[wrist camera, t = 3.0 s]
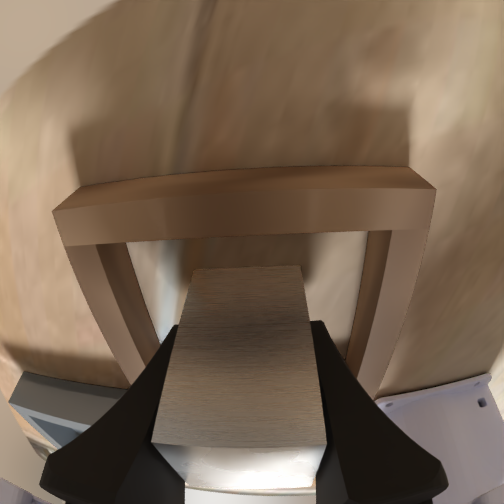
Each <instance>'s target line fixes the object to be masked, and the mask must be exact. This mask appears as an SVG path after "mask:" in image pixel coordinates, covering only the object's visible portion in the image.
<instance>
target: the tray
mask: <svg viewBox="0 0 504 504" xmlns="http://www.w3.org/2000/svg"><path fill="white" fill-rule="evenodd" d="M126 391H127V389H118V388H111V387H103V386H96V385H90V384H84V383H78V382H72V381H66V380H61V379H56V378H51V377H46V376H41V375H37V374H32V373H28V372H23V374H22V376H21V378H20V379H19V381H18V383H17V385H16V387H15V389H14V391H13V394H12V396H11V398H10V400H9V404H10V405H11V406H12V407H13V408H14V409H15V410H16V411H17V412H18V413H19V414H20V415H21V416H22V417H23V418H24V419H25V420H26V421H27V422H28V423H29V424H30V425H31V426H33V427H34V428H35V429H36V430H37V431H38V432H39V433H40V434H41V435H42V436H43V437H45V438H46V439H47V440H48V441H49V442H50V443H51V444H53V445H54V446H55V447H56V448H57V449H60V448H61V447H63V446H65V445H66V444H68V443H69V442H71V441H72V440H74V439H75V438H76V437H78V436H79V435H80V434H81V433H83V432H84V431H85V430H87V429H88V428H89V427H90V426H92V425H93V424H94V423H95V422H96V421H97V420H99V419H100V418H101V417H102V416H103V415H104V414H105V413H106V412H107V411H108V410H109V409H110V408H111V407H112V406H113V405H114V404H115V403H116V402H117V401H118V400H119V399H120V398H121V397H122V396H123V394H124V393H125V392H126Z"/></svg>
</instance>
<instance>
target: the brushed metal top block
mask: <svg viewBox="0 0 504 504" xmlns="http://www.w3.org/2000/svg"><path fill="white" fill-rule="evenodd" d="M151 443H152V444H153V445H154V446H155V447H156V449H157V450H158V451H159V452H160V453H161V455H162V456H163V457H164V458H165V459H166V460H167V462H168V463H169V464H170V465H171V466H172V467H173V468H174V470H175V471H176V472H177V473H178V474H179V475H180V476H181V477H182V478H183V479H184V480H185V482H186V483H187V484H188V485H189V486H197V487H210V488H228V489H279V488H298V487H310V486H311V485H312V483H313V480H314V478H315V475H316V472H317V470H318V467H319V465H320V462H321V459H322V457H323V454H324V451H325V448H326V445H327V441H326V432H325V424H324V416H323V408H322V401H321V393H320V386H319V379H318V372H317V365H316V358H315V351H314V345H313V338H312V332H311V326H310V320H309V313H308V307H307V301H306V296H305V290H304V284H303V278H302V273H301V267H300V265H288V266H266V267H243V268H218V269H194V271H193V275H192V278H191V282H190V285H189V289H188V293H187V296H186V300H185V304H184V307H183V311H182V315H181V319H180V322H179V326H178V330H177V334H176V338H175V342H174V346H173V349H172V353H171V357H170V361H169V366H168V370H167V374H166V378H165V382H164V386H163V391H162V395H161V399H160V404H159V408H158V413H157V417H156V422H155V426H154V431H153V435H152V440H151Z"/></svg>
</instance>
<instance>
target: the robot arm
mask: <svg viewBox="0 0 504 504" xmlns="http://www.w3.org/2000/svg"><path fill="white" fill-rule="evenodd" d="M178 326H179V325H174V326H173V327H172V329H171V330H170V332H169V333H168V335H167V336H166V338H165V340H164V341H163V343H162V344H161V346H160V347H159V349H158V350H157V352H156V353H155V354H154V356H153V357H152V359H151V360H150V361H149V363H148V364H147V366H146V367H145V368H144V370H143V371H142V372H141V374H140V375H139V376H138V378H137V379H136V380H135V381H134V383H133V384H132V385H131V386H130V388H129V389H128V390H127V391H126V392H125V393H124V394H123V396H122V397H121V398H120V399H119V400H118V401H117V402H116V403H115V404H114V405H113V406H112V407H111V408H110V409H109V410H108V411H107V412H106V413H105V414H104V415H103V416H102V417H101V418H100V419H99V420H97V421H96V422H95V423H94V424H93V425H92V426H90V427H89V428H88V429H87V430H85V431H84V432H83V433H81V434H80V435H79V436H78V437H76V438H75V439H74V440H72V441H71V442H69V443H68V444H66V445H65V446H63V447H61V448H60V449H58V450H57V451H55V452H54V453H52V454H50V455H49V456H48V458H47V461H46V463H45V467H44V470H43V473H42V477H41V480H40V483H39V485H40V487H41V488H43V489H44V490H46V491H47V492H49V493H51V494H52V495H54V496H56V497H58V498H60V499H62V500H63V501H65V504H185V480H184V479H183V478H182V477H181V476H180V475H179V474H178V473H177V472H176V471H175V470H174V468H173V467H172V466H171V465H170V464H169V463H168V462H167V460H166V459H165V458H164V457H163V456H162V455H161V453H160V452H159V451H158V450H157V449H156V447H155V446H154V445H153V444H152V443H151V440H152V435H153V431H154V426H155V422H156V417H157V413H158V408H159V404H160V399H161V395H162V391H163V386H164V382H165V378H166V374H167V370H168V366H169V361H170V357H171V353H172V349H173V346H174V342H175V338H176V334H177V330H178ZM310 326H311V332H312V338H313V345H314V351H315V358H316V365H317V372H318V379H319V386H320V393H321V401H322V408H323V416H324V424H325V432H326V441H327V445H326V448H325V451H324V454H323V457H322V459H321V462H320V465H319V467H318V470H317V472H316V504H504V422H503V419H502V417H501V414H500V412H499V409H498V407H497V405H496V402H495V400H494V398H493V395H492V393H491V391H490V389H489V387H488V385H487V384H488V383H489V382H490V380H491V378H492V376H491V374H490V373H486V374H483V375H480V376H476V377H473V378H469V379H466V380H462V381H458V382H454V383H450V384H446V385H442V386H438V387H434V388H429V389H425V390H420V391H415V392H410V393H405V394H400V395H394V396H388V397H382V398H379V399H377V400H375V402H374V401H373V399H372V398H371V397H370V396H369V395H368V393H367V392H366V391H365V390H364V388H363V387H362V386H361V384H360V383H359V382H358V380H357V379H356V377H355V376H354V375H353V373H352V372H351V370H350V369H349V367H348V366H347V364H346V362H345V361H344V359H343V358H342V356H341V354H340V353H339V351H338V349H337V348H336V346H335V344H334V342H333V341H332V339H331V337H330V335H329V333H328V331H327V329H326V327H325V324H324V322H322V321H321V320H319V321H310ZM0 504H51V503H49V502H47V501H45V500H42V499H40V498H38V497H36V496H34V495H32V494H31V493H29V492H28V491H26V490H24V489H22V488H20V487H18V486H17V485H15V484H13V483H11V482H9V481H7V480H5V479H3V478H0Z"/></svg>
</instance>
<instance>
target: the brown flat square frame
mask: <svg viewBox="0 0 504 504" xmlns="http://www.w3.org/2000/svg"><path fill="white" fill-rule="evenodd" d="M436 190H437V189H436V188H434V187H433V186H432V185H431V184H430V183H428V182H427V181H426V180H425V179H423V178H422V177H421V176H420V175H419V174H417V173H416V172H415V171H413V170H412V169H411V168H410V167H386V166H299V167H271V168H251V169H235V170H221V171H208V172H196V173H185V174H175V175H166V176H157V177H148V178H140V179H132V180H125V181H118V182H110V183H104V184H97V185H91V186H85V187H80V188H78V189H77V190H76V191H75V192H74V193H72V194H71V195H70V196H69V197H68V198H67V199H65V200H64V201H63V202H62V203H61V204H60V205H58V206H57V207H56V208H55V209H54V210H53V211H52V213H53V216H54V219H55V222H56V225H57V228H58V231H59V234H60V237H61V239H62V242H63V245H64V248H65V250H66V253H67V256H68V258H69V261H70V263H71V266H72V268H73V271H74V273H75V275H76V278H77V280H78V283H79V285H80V287H81V290H82V292H83V294H84V296H85V299H86V301H87V303H88V305H89V307H90V309H91V312H92V314H93V316H94V318H95V320H96V322H97V324H98V326H99V328H100V330H101V332H102V334H103V336H104V338H105V340H106V342H107V344H108V346H109V347H110V349H111V351H112V353H113V355H114V357H115V359H116V360H117V362H118V364H119V366H120V368H121V369H122V371H123V373H124V374H125V376H126V378H127V380H128V381H129V383H130V385H132V384H133V383H134V381H135V380H136V379H137V378H138V376H139V375H140V374H141V372H142V371H143V370H144V368H145V367H146V366H147V364H148V363H149V361H150V360H151V359H152V357H153V356H154V354H155V353H156V352H157V350H158V349H159V347H160V343H159V341H158V338H157V335H156V333H155V330H154V328H153V325H152V322H151V319H150V317H149V314H148V311H147V308H146V306H145V303H144V300H143V297H142V294H141V291H140V288H139V285H138V282H137V279H136V276H135V273H134V270H133V267H132V263H131V260H130V257H129V254H128V250H127V247H126V243H125V242H139V241H156V240H173V239H191V238H209V237H229V236H249V235H271V234H294V233H318V232H345V231H369V233H368V241H367V248H366V255H365V262H364V268H363V274H362V280H361V286H360V292H359V298H358V303H357V308H356V314H355V319H354V324H353V328H352V333H351V338H350V342H349V347H348V351H347V356H346V360H345V362H346V364H347V366H348V367H349V369H350V370H351V372H352V373H353V375H354V376H355V377H356V379H357V380H358V382H359V383H360V384H361V386H362V387H363V388H364V390H365V391H366V392H367V393H368V395H369V396H370V397H371V398H372V399H373V400H374V398H375V396H376V394H377V391H378V389H379V387H380V384H381V382H382V379H383V377H384V375H385V372H386V370H387V367H388V365H389V362H390V359H391V357H392V354H393V352H394V349H395V346H396V343H397V341H398V338H399V335H400V332H401V329H402V326H403V323H404V320H405V317H406V314H407V311H408V308H409V305H410V301H411V298H412V295H413V291H414V288H415V284H416V281H417V277H418V273H419V270H420V266H421V262H422V258H423V254H424V250H425V246H426V241H427V237H428V232H429V227H430V223H431V218H432V213H433V207H434V202H435V196H436Z"/></svg>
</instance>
